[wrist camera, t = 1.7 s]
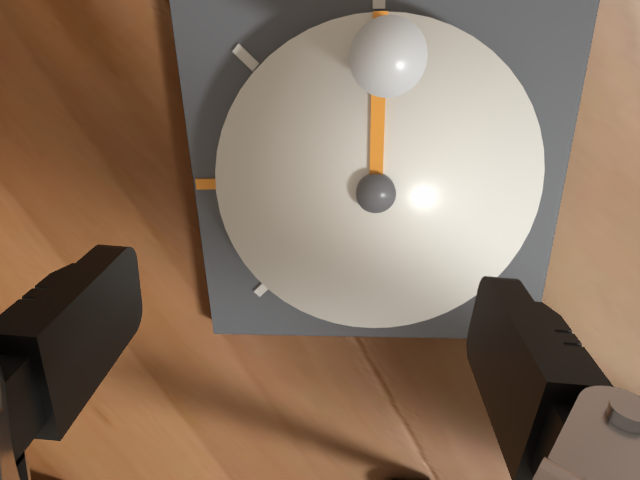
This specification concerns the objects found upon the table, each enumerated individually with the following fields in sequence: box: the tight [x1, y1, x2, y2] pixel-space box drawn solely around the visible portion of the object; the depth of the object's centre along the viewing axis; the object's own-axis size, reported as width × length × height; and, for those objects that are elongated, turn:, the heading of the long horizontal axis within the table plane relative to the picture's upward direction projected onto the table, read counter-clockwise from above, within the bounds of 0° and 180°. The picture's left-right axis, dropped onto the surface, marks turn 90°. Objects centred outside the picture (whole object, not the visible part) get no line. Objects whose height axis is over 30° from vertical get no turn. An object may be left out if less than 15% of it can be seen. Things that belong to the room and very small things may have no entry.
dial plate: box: [169, 0, 600, 339], centre depth 31 cm, size 24×24×2 cm
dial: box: [215, 11, 545, 328], centre depth 26 cm, size 20×20×8 cm
